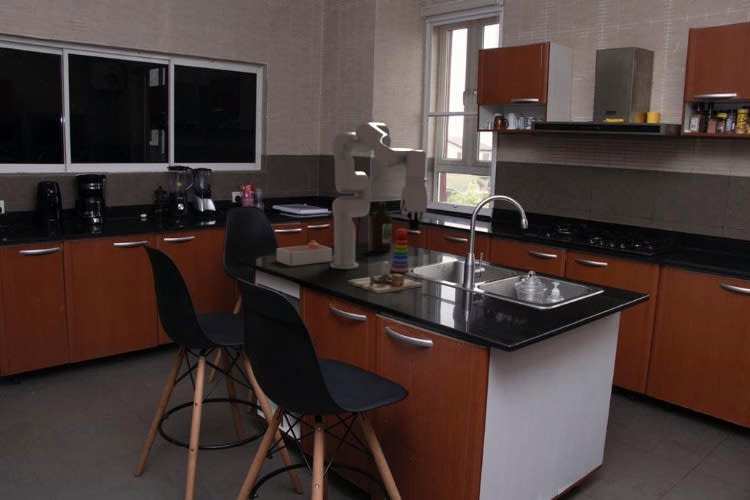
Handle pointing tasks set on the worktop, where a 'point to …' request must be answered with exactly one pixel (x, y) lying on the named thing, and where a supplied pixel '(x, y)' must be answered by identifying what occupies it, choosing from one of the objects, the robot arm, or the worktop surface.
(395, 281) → the ring with handle
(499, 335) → the worktop surface
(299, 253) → the dish tray
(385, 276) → the grey cylinder
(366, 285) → the board
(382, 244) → the olive oil
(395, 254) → the stacking toy
